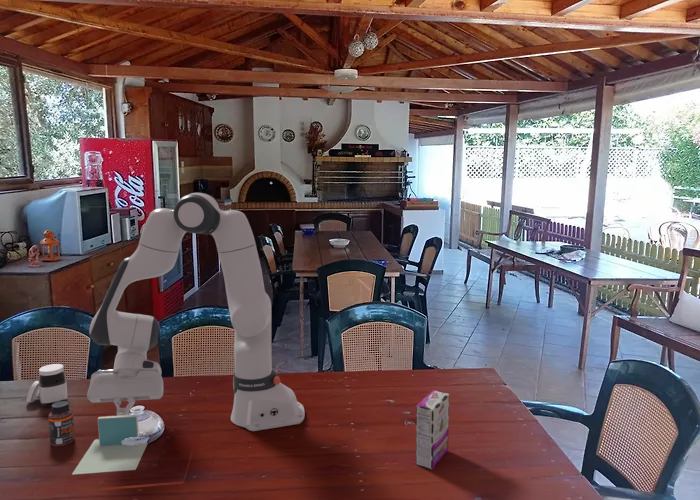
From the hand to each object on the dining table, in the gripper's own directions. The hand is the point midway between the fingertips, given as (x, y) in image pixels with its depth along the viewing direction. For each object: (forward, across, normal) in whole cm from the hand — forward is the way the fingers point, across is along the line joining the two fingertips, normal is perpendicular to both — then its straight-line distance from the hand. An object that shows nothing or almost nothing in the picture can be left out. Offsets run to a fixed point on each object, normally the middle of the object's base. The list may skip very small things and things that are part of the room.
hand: (122, 415), depth 144 cm
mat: (+11, 0, -2) cm, 11 cm away
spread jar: (-15, -31, +25) cm, 42 cm away
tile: (+7, 0, +2) cm, 8 cm away
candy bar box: (+21, +83, -11) cm, 86 cm away
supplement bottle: (+5, -16, +5) cm, 17 cm away
